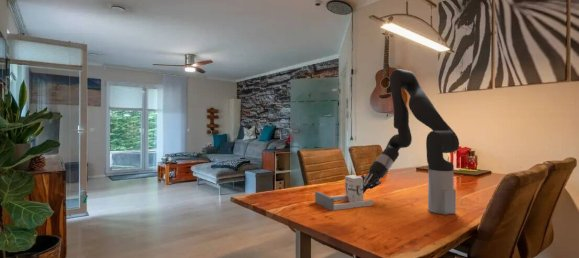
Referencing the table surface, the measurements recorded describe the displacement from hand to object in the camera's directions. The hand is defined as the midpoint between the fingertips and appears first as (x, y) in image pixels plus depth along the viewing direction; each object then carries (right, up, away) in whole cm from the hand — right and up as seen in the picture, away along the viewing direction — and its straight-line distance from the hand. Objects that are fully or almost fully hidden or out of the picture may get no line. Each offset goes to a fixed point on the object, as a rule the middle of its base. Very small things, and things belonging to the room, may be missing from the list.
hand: (359, 193), depth 138 cm
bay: (-7, -4, -3) cm, 9 cm away
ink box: (-3, -4, -1) cm, 5 cm away
